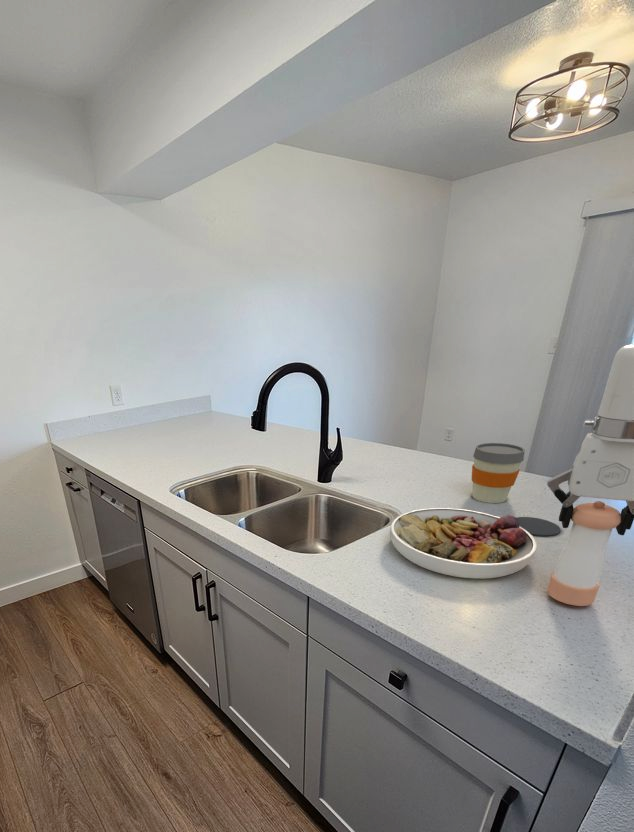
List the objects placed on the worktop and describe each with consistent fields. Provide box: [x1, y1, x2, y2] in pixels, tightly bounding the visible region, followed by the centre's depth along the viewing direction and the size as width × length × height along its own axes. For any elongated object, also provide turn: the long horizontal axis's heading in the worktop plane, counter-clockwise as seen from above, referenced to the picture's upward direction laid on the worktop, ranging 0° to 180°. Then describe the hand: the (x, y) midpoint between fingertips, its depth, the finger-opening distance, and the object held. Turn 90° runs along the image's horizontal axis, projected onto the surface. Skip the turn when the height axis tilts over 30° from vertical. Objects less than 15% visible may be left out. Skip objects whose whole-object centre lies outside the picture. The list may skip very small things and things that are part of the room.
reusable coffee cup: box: [471, 442, 526, 504], centre depth 127 cm, size 13×13×15 cm
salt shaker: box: [546, 500, 621, 607], centre depth 79 cm, size 7×7×19 cm
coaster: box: [516, 516, 561, 537], centre depth 111 cm, size 11×11×1 cm
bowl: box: [389, 507, 538, 580], centre depth 101 cm, size 30×30×8 cm
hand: (591, 528), depth 77 cm, fingers closed on salt shaker, 7 cm apart
